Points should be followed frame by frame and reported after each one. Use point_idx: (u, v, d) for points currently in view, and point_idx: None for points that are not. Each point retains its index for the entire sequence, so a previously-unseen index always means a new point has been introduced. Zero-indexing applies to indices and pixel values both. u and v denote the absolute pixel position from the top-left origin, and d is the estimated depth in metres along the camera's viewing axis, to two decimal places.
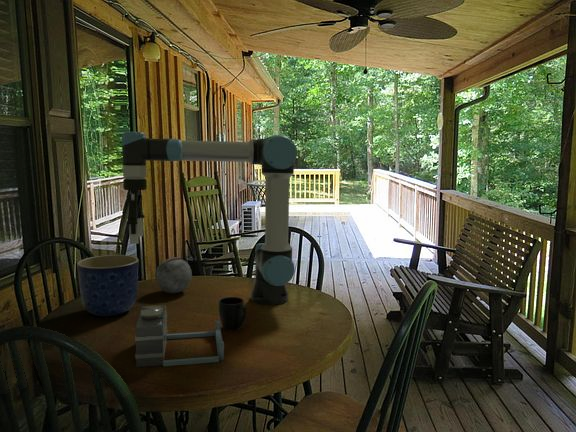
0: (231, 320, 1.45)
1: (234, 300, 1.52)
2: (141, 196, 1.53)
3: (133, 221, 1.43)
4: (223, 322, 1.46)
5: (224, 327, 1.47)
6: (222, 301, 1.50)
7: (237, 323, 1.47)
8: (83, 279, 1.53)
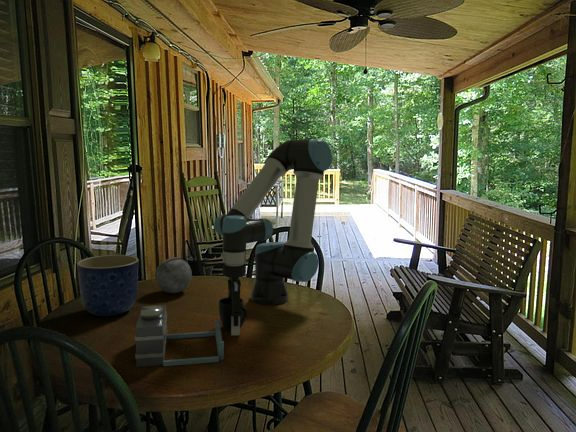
0: None
1: None
2: (239, 280, 1.47)
3: (237, 314, 1.38)
4: (223, 322, 1.46)
5: (224, 327, 1.47)
6: (222, 301, 1.50)
7: None
8: (83, 279, 1.53)
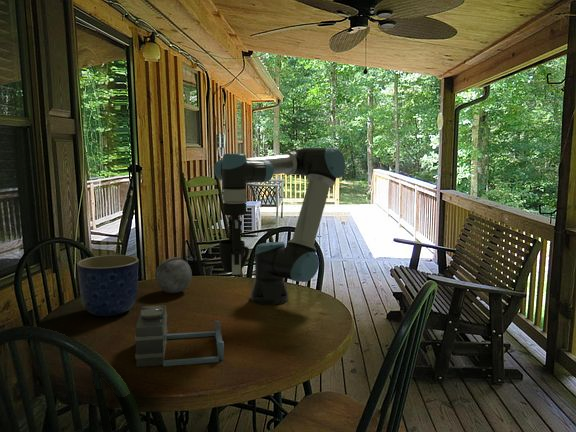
0: None
1: None
2: None
3: (238, 252, 1.36)
4: (224, 263, 1.43)
5: (225, 268, 1.44)
6: (222, 243, 1.47)
7: None
8: (83, 279, 1.53)
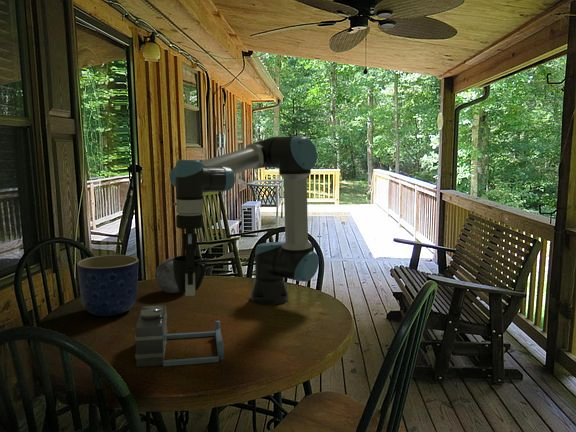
0: None
1: None
2: (196, 234, 1.29)
3: (191, 270, 1.21)
4: (178, 282, 1.28)
5: (180, 288, 1.28)
6: (177, 259, 1.31)
7: None
8: (83, 279, 1.53)
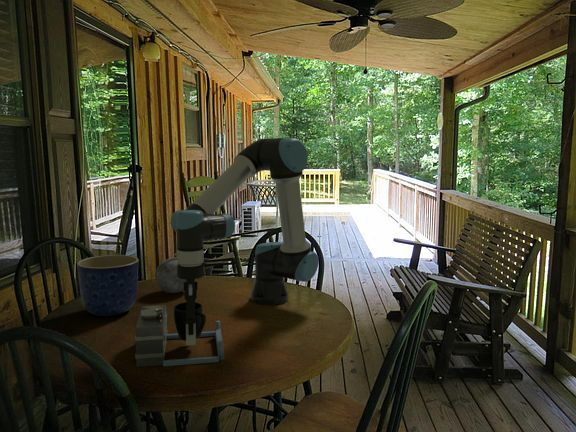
0: None
1: None
2: None
3: (192, 322, 1.23)
4: (179, 331, 1.29)
5: (180, 336, 1.30)
6: (178, 307, 1.33)
7: None
8: (83, 279, 1.53)
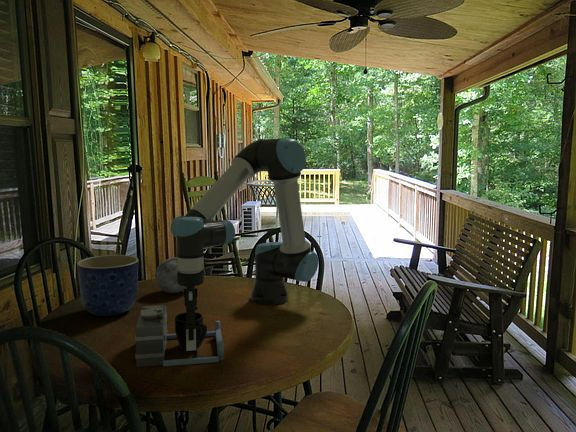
0: None
1: None
2: None
3: (192, 327, 1.21)
4: (180, 341, 1.31)
5: (181, 347, 1.31)
6: (179, 317, 1.34)
7: (196, 342, 1.31)
8: (83, 279, 1.53)
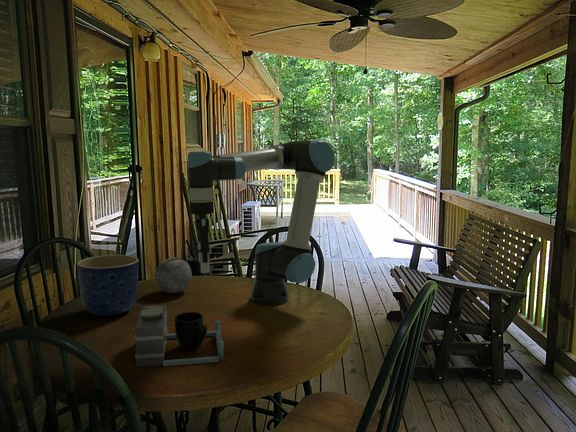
0: (189, 338, 1.30)
1: (192, 315, 1.36)
2: None
3: (206, 249, 1.32)
4: (180, 341, 1.31)
5: (181, 347, 1.31)
6: (179, 317, 1.34)
7: (196, 342, 1.31)
8: (83, 279, 1.53)
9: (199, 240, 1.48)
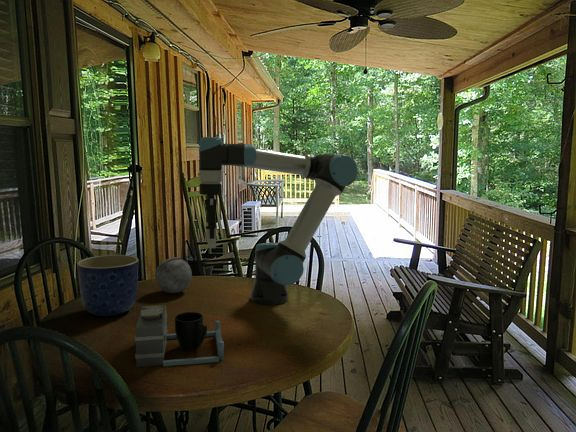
0: (189, 338, 1.30)
1: (192, 315, 1.36)
2: None
3: (213, 226, 1.44)
4: (180, 341, 1.31)
5: (181, 347, 1.31)
6: (179, 317, 1.34)
7: (196, 342, 1.31)
8: (83, 279, 1.53)
9: (207, 220, 1.60)
